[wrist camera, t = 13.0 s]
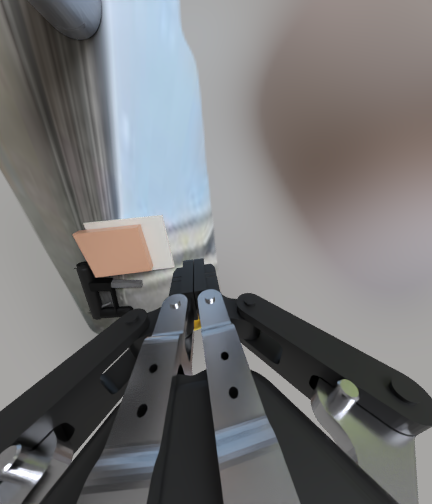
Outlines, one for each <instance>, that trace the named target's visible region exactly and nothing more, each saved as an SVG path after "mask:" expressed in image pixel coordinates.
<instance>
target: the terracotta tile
mask: <svg viewBox="0 0 432 504" xmlns="http://www.w3.org/2000/svg"><path fill="white" fill-rule="evenodd" d="M72 235H73V237H74V239H75V241H76V242H77V244H78V246H79V248H80V250H81V251H82V253H83V255H84V257H85V259H86V261H87V262H88V264H89V266H90V268H91V270H92V271H93V273H94V275H95V277H96V278H97V277H105V276H113V275H121V274H129V273H136V272H144V271H151V270H152V268H153V263H152V259H151V256H150V253H149V250H148V247H147V243H146V240H145V237H144V234H143V231H142V227H141V224H138V225H128V226H119V227H109V228H99V229H90V230H80V231H77V232H76V233H74V234H72Z"/></svg>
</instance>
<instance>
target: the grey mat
mask: <svg viewBox="0 0 432 504" xmlns="http://www.w3.org/2000/svg"><path fill="white" fill-rule="evenodd" d="M138 224H141V227H142V231H143V234H144V237H145V240H146V243H147V247H148V250H149V253H150V256H151V259H152V263H153V268H152V270H157V269H165V268H173V267H175V266H174V261H173V257H172V253H171V249H170V244H169V240H168V236H167V232H166V227H165V223H164V219H163V215H157V216H147V217H137V218H127V219H117V220H107V221H97V222H88V223H83V225H84V227H85V229H86V230H90V229H99V228H109V227H119V226H128V225H138Z"/></svg>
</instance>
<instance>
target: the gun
mask: <svg viewBox="0 0 432 504" xmlns="http://www.w3.org/2000/svg"><path fill="white" fill-rule="evenodd" d="M76 266H77V268H74V269H77V273H78V276H79V278H80V281H81V284H82V287H83V290H84V293H85V296H86V299H87V302H88V305H89V308H90V310H89V311H91V312H90V313H91V314H92V317H93V318H94V319H96V320H98V319H101V318H112V317H122V316H123V315H124V314H126V313H127V312H129V311H131V310H133V308H132V307H131V306H125V307H119V305H118V301H117V296H116V291H115V288H129V287H142V285H143V283H142V280H113V278H96V277H94V275H93V271H92V270H91V268H90V266H89V264H88V262H81V263H78V264H77V265H76ZM98 291H110V292H111V296H112V300H113V304H114V307H105V306H108V305H110V304H111V303H112V302H109V303H107V304H105V305H102V303H101V299H100V296H99V292H98ZM103 307H105V308H103Z"/></svg>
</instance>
